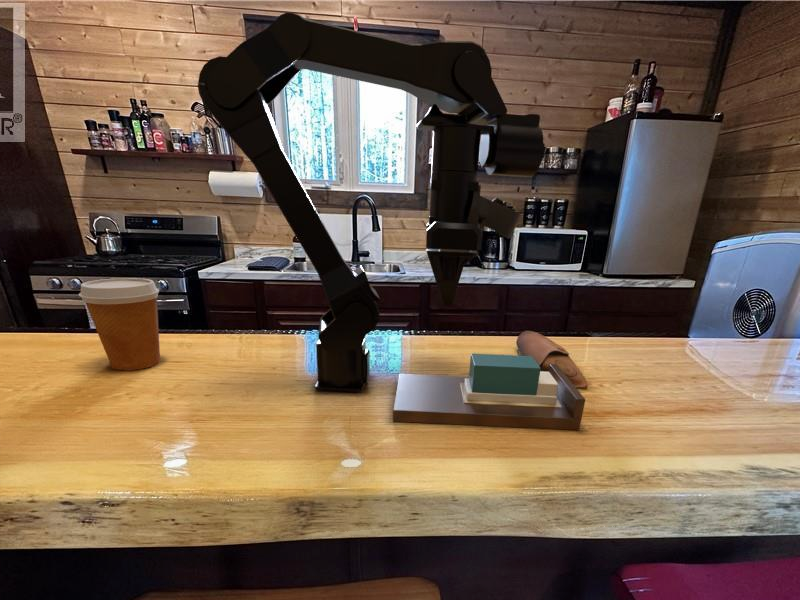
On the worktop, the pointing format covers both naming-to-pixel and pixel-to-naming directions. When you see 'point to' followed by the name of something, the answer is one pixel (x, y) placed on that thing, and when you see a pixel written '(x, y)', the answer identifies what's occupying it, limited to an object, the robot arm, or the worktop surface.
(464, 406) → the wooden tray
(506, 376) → the teal block
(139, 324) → the disposable coffee cup
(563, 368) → the sunglasses case
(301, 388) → the worktop surface
